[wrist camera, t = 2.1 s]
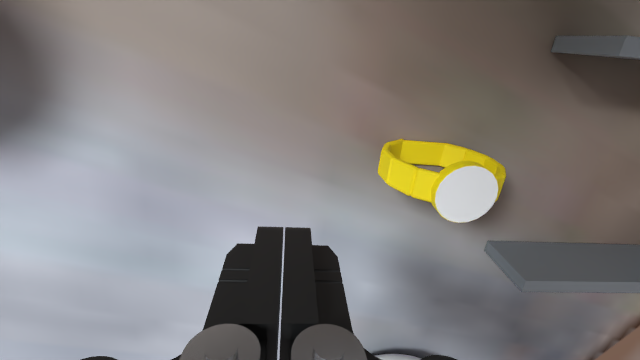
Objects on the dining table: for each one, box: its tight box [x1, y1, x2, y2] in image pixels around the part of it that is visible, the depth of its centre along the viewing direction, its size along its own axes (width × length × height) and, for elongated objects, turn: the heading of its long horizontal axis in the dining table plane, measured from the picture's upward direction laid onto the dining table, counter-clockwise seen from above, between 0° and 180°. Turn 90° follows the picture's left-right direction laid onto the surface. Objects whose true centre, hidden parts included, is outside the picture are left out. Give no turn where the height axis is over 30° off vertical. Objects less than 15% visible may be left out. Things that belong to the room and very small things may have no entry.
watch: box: [378, 139, 506, 223], centre depth 17 cm, size 6×3×6 cm, turn 84°
